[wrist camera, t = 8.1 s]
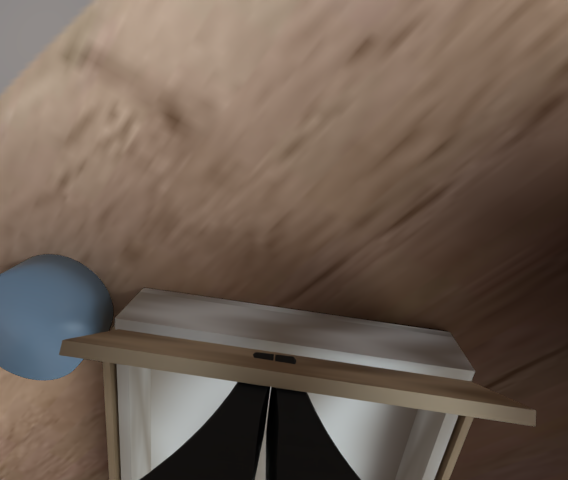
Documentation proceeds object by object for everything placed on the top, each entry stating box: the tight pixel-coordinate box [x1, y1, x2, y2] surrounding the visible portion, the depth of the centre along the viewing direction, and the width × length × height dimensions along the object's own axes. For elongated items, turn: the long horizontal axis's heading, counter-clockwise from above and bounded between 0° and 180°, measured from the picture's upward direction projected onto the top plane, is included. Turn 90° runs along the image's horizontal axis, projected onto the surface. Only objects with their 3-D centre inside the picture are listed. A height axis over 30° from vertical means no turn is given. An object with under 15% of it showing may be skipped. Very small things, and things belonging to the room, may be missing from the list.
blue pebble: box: [0, 254, 113, 380], centre depth 16 cm, size 5×5×2 cm
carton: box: [102, 288, 475, 480], centre depth 17 cm, size 15×13×3 cm
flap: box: [59, 329, 536, 427], centre depth 11 cm, size 13×1×3 cm, turn 83°
